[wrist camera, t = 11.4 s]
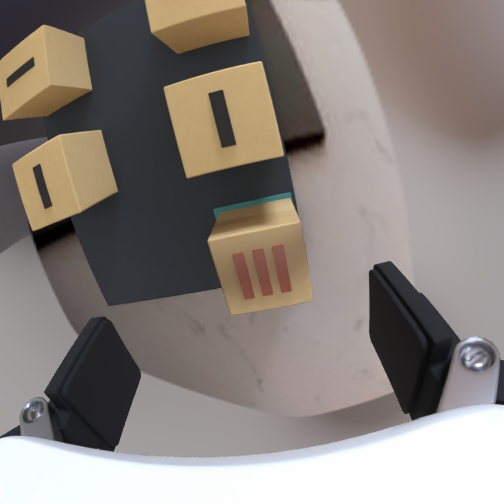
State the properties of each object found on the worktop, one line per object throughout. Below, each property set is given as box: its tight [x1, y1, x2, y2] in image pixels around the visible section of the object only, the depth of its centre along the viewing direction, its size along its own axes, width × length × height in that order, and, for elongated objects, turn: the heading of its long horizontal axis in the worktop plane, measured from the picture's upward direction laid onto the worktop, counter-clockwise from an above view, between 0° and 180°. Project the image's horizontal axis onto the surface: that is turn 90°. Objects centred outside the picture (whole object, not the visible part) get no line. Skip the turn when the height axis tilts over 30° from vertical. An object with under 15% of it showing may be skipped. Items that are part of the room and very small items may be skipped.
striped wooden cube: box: [208, 198, 313, 315], centre depth 16 cm, size 4×4×5 cm
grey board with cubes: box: [0, 0, 299, 306], centre depth 14 cm, size 20×15×5 cm
